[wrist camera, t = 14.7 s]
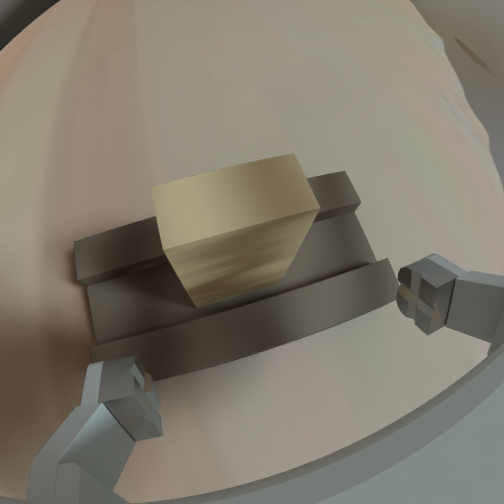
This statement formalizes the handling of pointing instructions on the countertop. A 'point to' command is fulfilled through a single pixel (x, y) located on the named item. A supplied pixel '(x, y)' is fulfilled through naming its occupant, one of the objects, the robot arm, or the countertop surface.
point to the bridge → (236, 309)
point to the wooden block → (235, 226)
